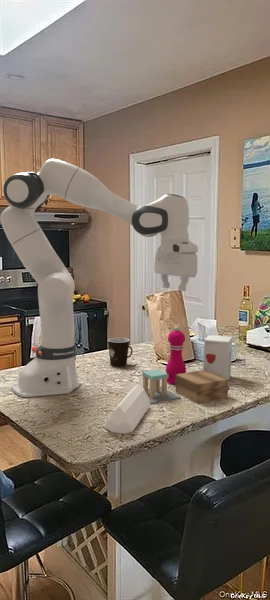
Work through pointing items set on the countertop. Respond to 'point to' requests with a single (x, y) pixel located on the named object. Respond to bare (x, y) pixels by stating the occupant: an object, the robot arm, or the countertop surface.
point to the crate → (201, 386)
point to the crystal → (129, 411)
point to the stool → (155, 382)
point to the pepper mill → (175, 355)
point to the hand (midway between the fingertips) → (174, 289)
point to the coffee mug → (118, 351)
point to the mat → (162, 397)
